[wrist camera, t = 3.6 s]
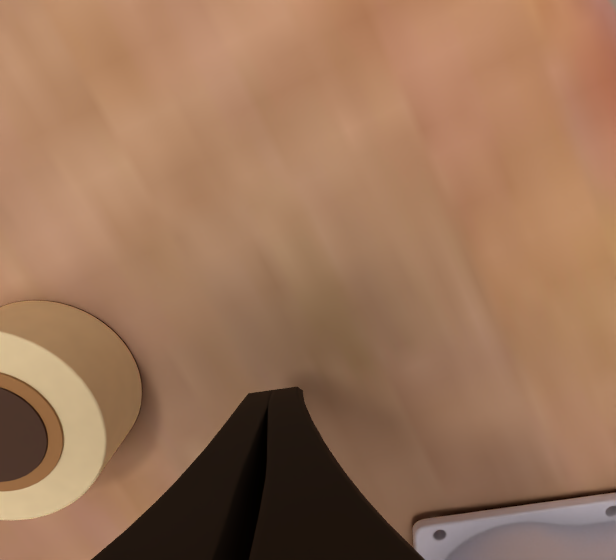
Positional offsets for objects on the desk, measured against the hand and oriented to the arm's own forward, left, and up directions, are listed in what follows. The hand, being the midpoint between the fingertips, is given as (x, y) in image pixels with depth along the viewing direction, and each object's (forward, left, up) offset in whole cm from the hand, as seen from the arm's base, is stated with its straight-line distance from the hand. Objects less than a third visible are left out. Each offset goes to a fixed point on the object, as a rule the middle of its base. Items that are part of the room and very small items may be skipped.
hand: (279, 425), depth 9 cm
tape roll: (+8, 0, -4) cm, 9 cm away
